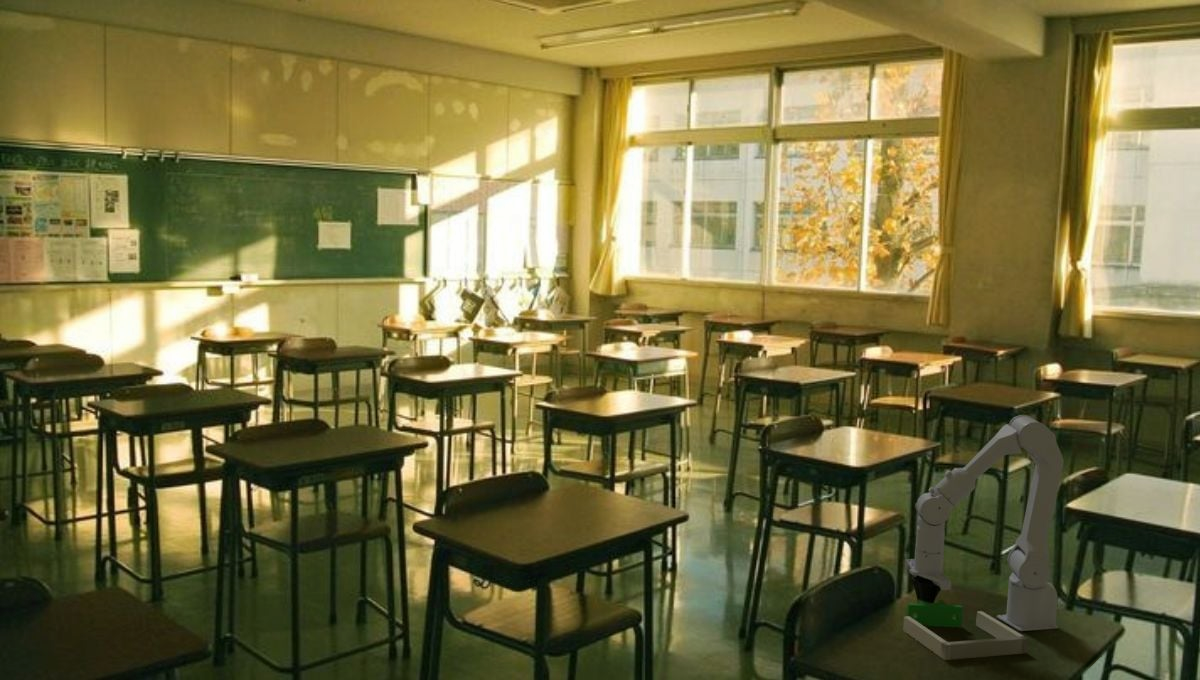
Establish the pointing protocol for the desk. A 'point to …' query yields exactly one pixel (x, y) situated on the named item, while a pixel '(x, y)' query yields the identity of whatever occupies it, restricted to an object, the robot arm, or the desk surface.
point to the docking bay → (1000, 645)
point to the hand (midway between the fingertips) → (924, 611)
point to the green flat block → (935, 613)
